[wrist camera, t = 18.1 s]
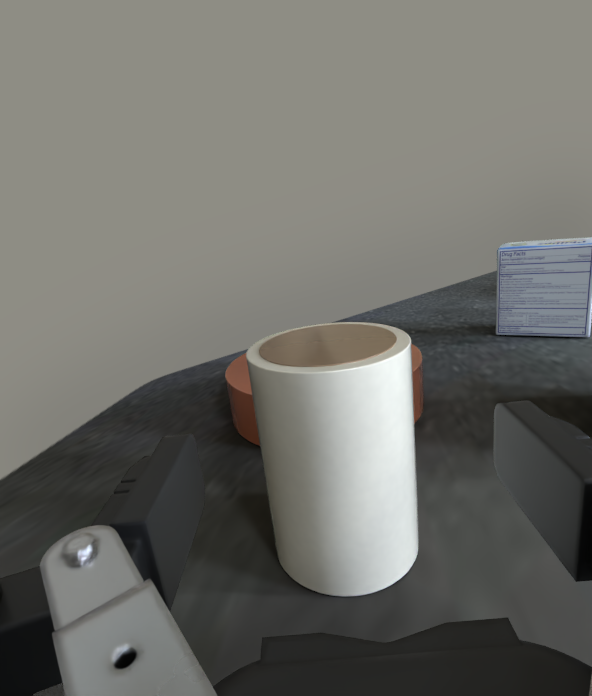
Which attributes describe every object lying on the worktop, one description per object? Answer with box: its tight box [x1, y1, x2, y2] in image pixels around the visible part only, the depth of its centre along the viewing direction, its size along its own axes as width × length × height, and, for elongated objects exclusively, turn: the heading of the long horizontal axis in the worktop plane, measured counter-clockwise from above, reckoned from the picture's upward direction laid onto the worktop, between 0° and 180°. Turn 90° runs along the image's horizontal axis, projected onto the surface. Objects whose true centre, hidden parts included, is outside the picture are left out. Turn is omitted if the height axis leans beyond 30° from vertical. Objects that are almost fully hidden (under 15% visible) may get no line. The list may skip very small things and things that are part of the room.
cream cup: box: [246, 322, 419, 596], centre depth 18 cm, size 6×6×9 cm
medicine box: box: [496, 237, 592, 337], centre depth 42 cm, size 8×4×9 cm, turn 60°
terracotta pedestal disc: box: [225, 344, 424, 446], centre depth 32 cm, size 14×14×4 cm
